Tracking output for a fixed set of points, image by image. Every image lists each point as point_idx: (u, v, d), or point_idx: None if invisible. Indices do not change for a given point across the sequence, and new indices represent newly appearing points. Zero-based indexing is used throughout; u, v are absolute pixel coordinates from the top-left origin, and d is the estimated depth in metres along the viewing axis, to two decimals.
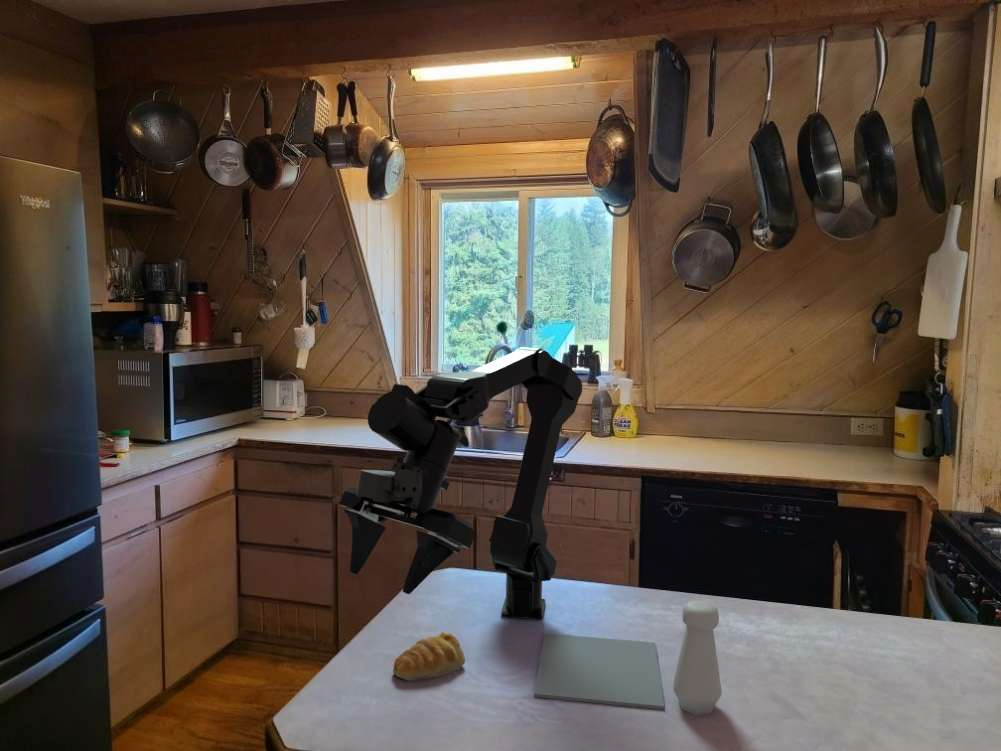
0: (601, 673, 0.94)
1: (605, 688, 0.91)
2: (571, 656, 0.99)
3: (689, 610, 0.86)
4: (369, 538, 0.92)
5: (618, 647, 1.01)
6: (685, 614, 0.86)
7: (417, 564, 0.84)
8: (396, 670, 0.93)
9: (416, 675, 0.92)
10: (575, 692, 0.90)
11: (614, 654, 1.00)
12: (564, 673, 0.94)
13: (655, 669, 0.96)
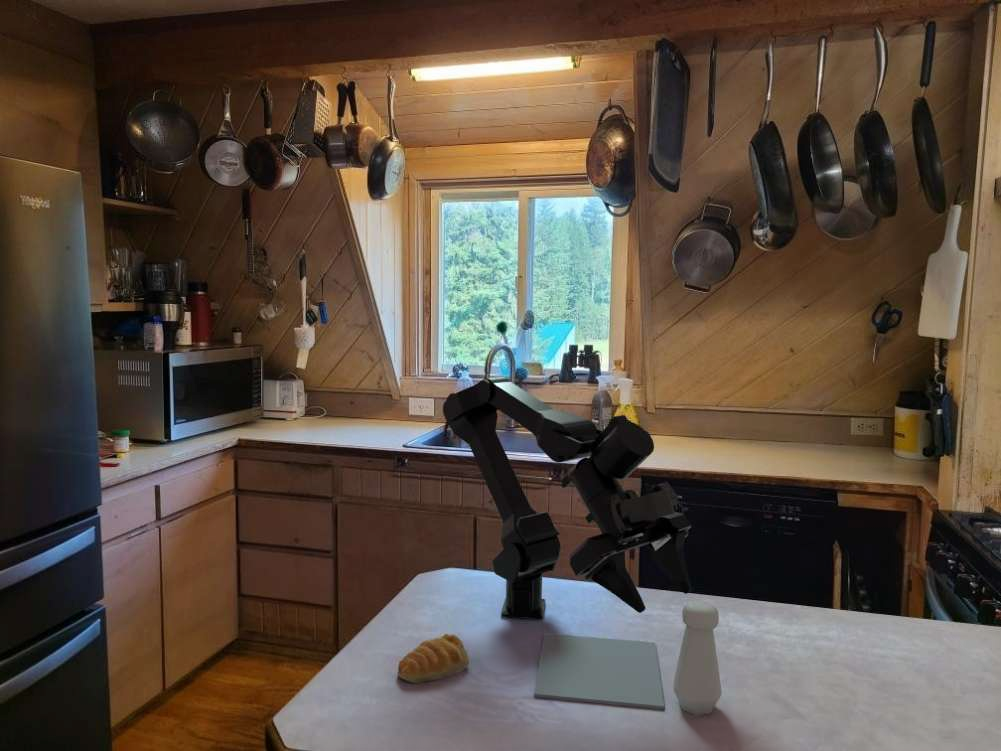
0: (601, 673, 0.94)
1: (605, 688, 0.91)
2: (571, 656, 0.99)
3: (688, 610, 0.86)
4: None
5: (618, 647, 1.01)
6: (685, 614, 0.86)
7: (684, 563, 0.95)
8: (401, 672, 0.93)
9: (421, 677, 0.92)
10: (575, 692, 0.90)
11: (614, 654, 1.00)
12: (564, 673, 0.94)
13: (655, 669, 0.96)
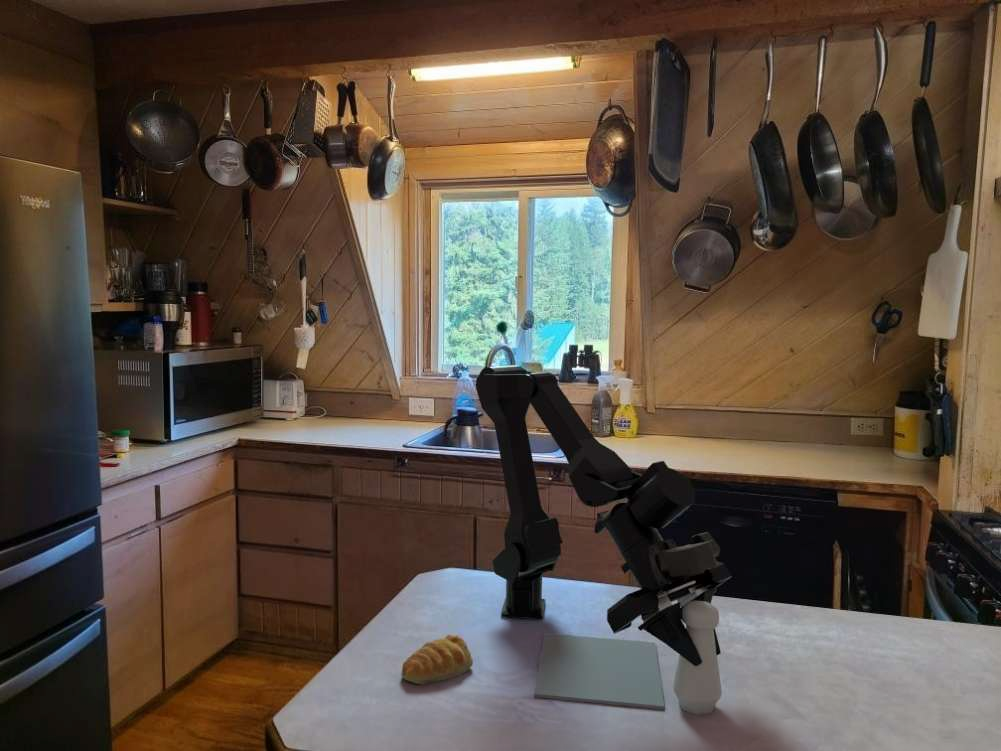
0: (601, 673, 0.94)
1: (605, 688, 0.91)
2: (571, 656, 0.99)
3: (689, 610, 0.86)
4: None
5: (618, 647, 1.01)
6: (685, 614, 0.86)
7: None
8: (405, 674, 0.92)
9: (425, 678, 0.92)
10: (575, 692, 0.90)
11: (614, 654, 1.00)
12: (564, 673, 0.94)
13: (655, 669, 0.96)
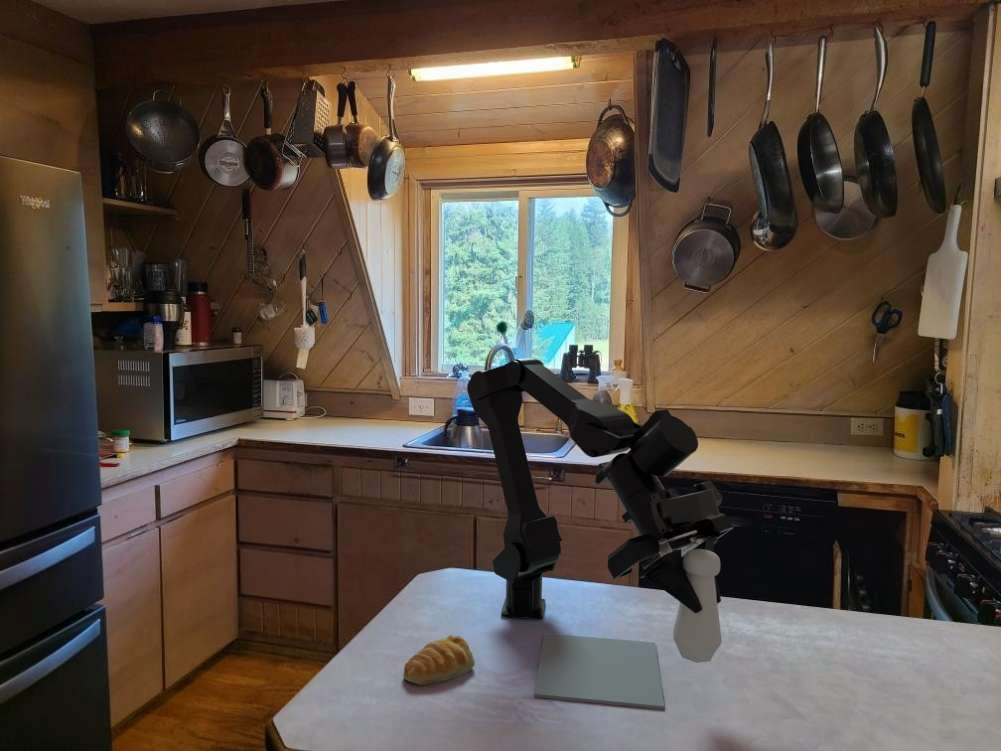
0: (601, 673, 0.94)
1: (605, 688, 0.91)
2: (571, 656, 0.99)
3: (690, 557, 0.85)
4: None
5: (618, 647, 1.01)
6: (686, 561, 0.86)
7: None
8: (407, 675, 0.92)
9: (428, 679, 0.92)
10: (575, 692, 0.90)
11: (614, 654, 1.00)
12: (564, 673, 0.94)
13: (655, 669, 0.96)
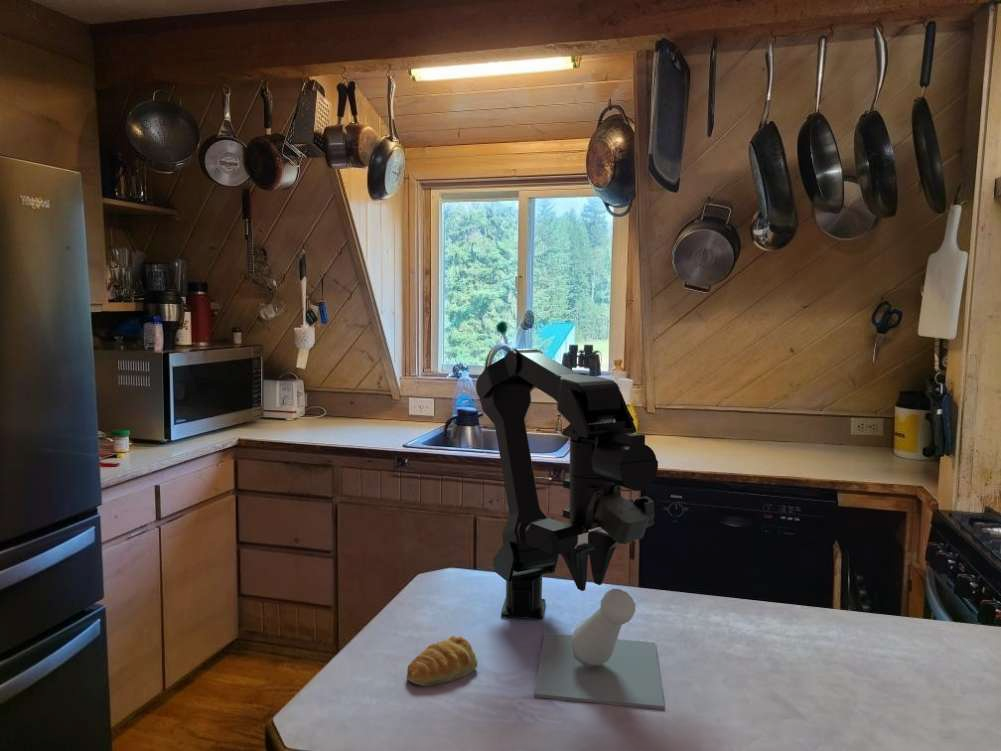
0: (601, 673, 0.94)
1: (605, 688, 0.91)
2: (571, 656, 0.99)
3: (610, 607, 0.89)
4: None
5: (618, 647, 1.01)
6: (605, 607, 0.89)
7: (609, 560, 0.97)
8: (410, 676, 0.92)
9: (431, 681, 0.91)
10: (575, 692, 0.90)
11: (614, 654, 1.00)
12: (564, 673, 0.94)
13: (655, 669, 0.96)
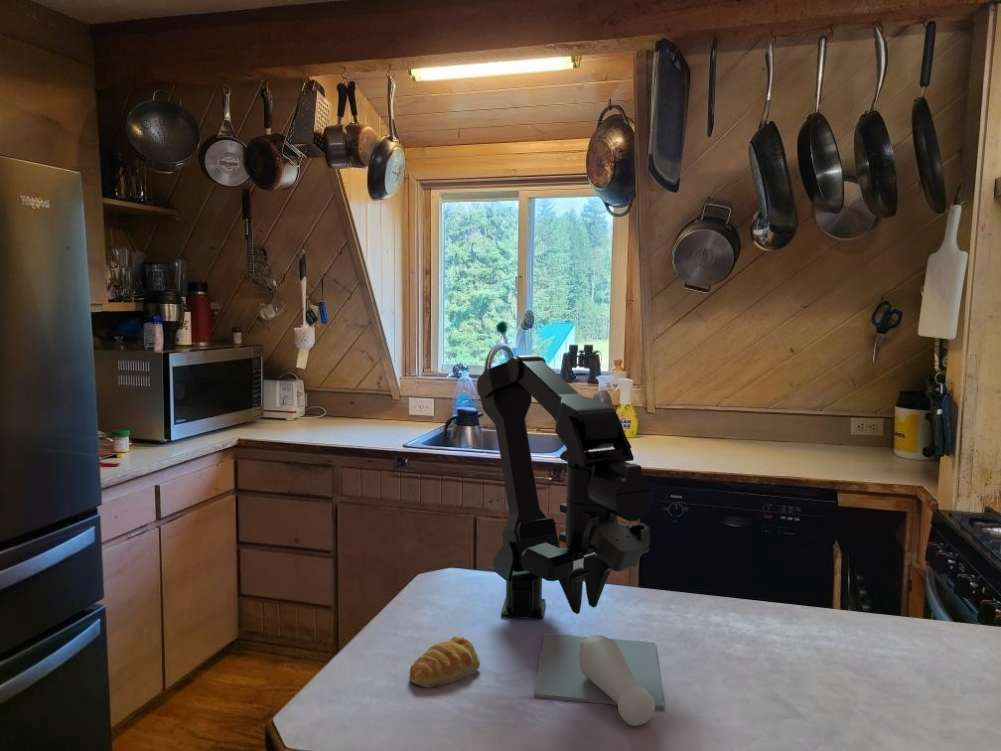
0: None
1: None
2: (571, 656, 0.99)
3: (627, 720, 0.83)
4: None
5: None
6: (622, 715, 0.83)
7: (604, 583, 0.98)
8: (413, 677, 0.91)
9: (434, 681, 0.91)
10: (575, 692, 0.90)
11: None
12: (564, 673, 0.94)
13: (655, 669, 0.96)
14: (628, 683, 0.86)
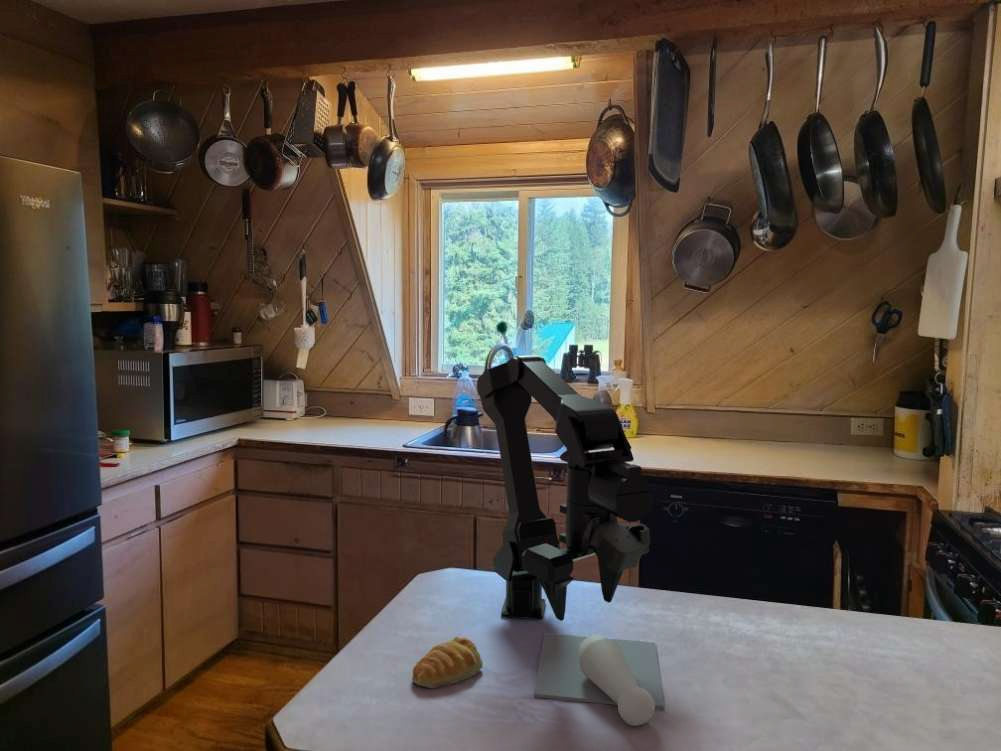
0: None
1: None
2: (571, 656, 0.99)
3: (627, 720, 0.83)
4: None
5: None
6: (622, 715, 0.83)
7: (619, 579, 1.00)
8: (416, 678, 0.91)
9: (437, 682, 0.91)
10: (575, 692, 0.90)
11: None
12: (564, 673, 0.94)
13: (655, 669, 0.96)
14: (627, 683, 0.86)
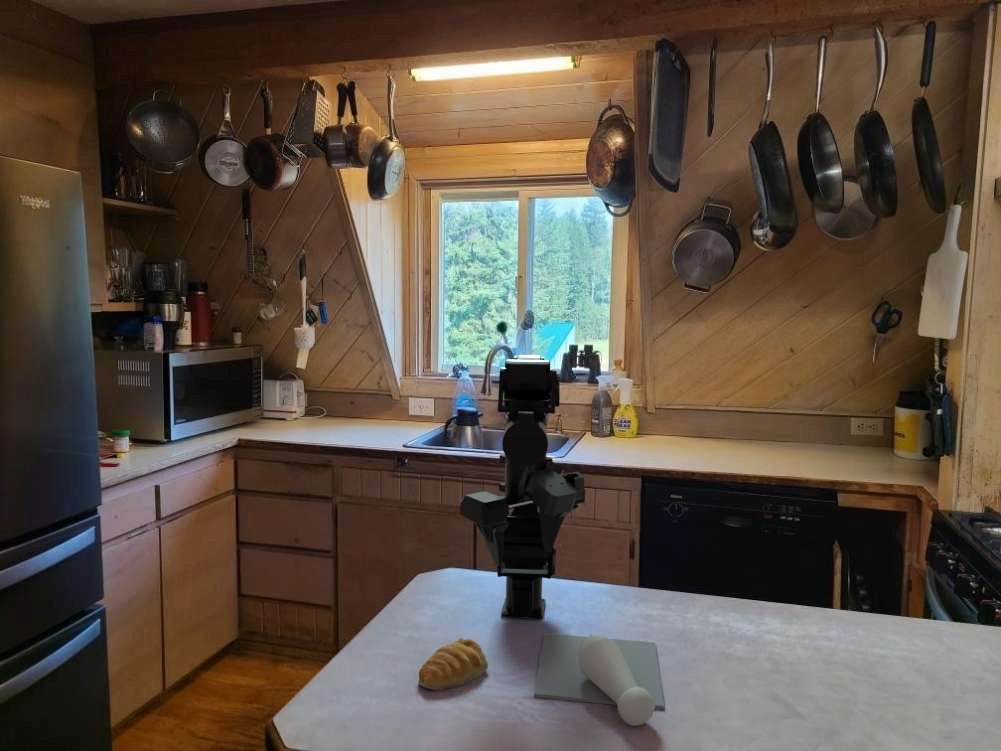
0: None
1: None
2: (571, 656, 0.99)
3: (627, 720, 0.83)
4: None
5: None
6: (622, 715, 0.83)
7: (559, 529, 1.03)
8: (423, 681, 0.91)
9: (445, 684, 0.90)
10: (575, 692, 0.90)
11: None
12: (564, 673, 0.94)
13: (655, 669, 0.96)
14: (627, 683, 0.86)
